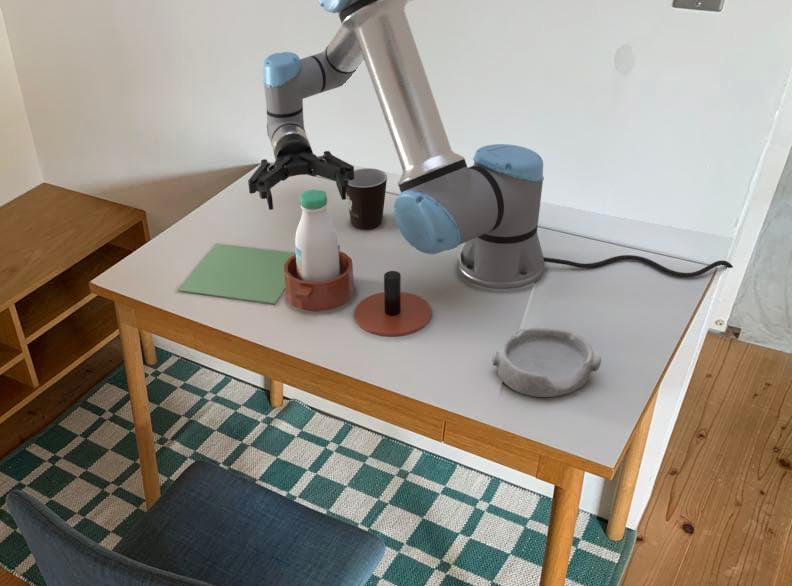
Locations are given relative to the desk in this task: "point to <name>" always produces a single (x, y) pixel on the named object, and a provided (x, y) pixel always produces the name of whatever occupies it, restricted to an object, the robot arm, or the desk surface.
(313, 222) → the milk bottle
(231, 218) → the desk surface
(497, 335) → the desk surface
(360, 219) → the brown coffee cup
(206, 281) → the mat
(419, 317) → the lid
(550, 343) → the dish
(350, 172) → the robot arm
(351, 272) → the pot
